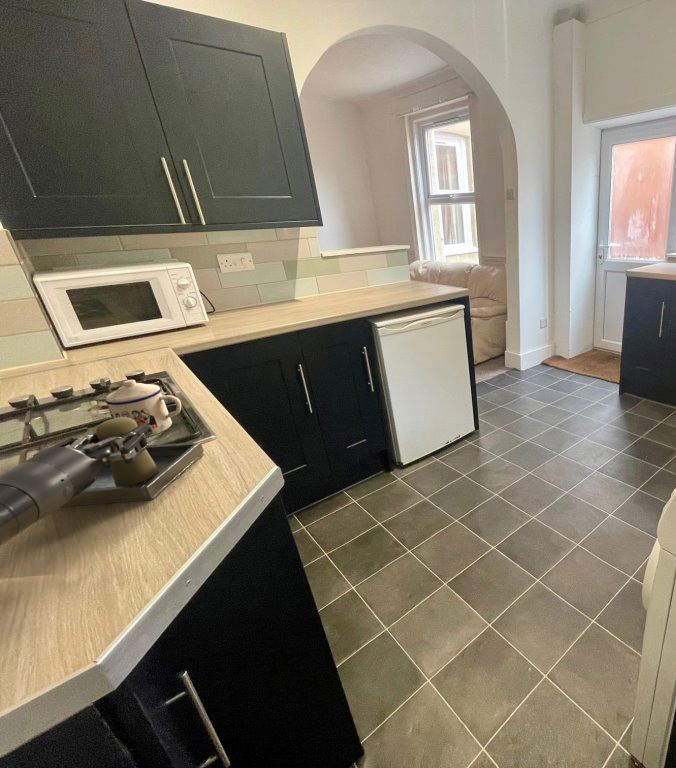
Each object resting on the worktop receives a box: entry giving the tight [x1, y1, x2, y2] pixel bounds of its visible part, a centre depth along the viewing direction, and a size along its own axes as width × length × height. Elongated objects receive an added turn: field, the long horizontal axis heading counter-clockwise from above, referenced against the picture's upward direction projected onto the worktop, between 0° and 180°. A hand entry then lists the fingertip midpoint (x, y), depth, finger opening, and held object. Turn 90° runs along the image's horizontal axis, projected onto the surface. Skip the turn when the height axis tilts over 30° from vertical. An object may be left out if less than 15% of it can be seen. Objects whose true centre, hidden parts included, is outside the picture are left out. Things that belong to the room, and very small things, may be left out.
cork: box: [95, 417, 158, 486], centre depth 72 cm, size 6×6×11 cm
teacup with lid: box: [105, 379, 182, 438], centre depth 90 cm, size 12×9×12 cm
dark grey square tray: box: [60, 441, 205, 508], centre depth 74 cm, size 15×15×3 cm
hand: (131, 428), depth 74 cm, fingers closed on cork, 5 cm apart
